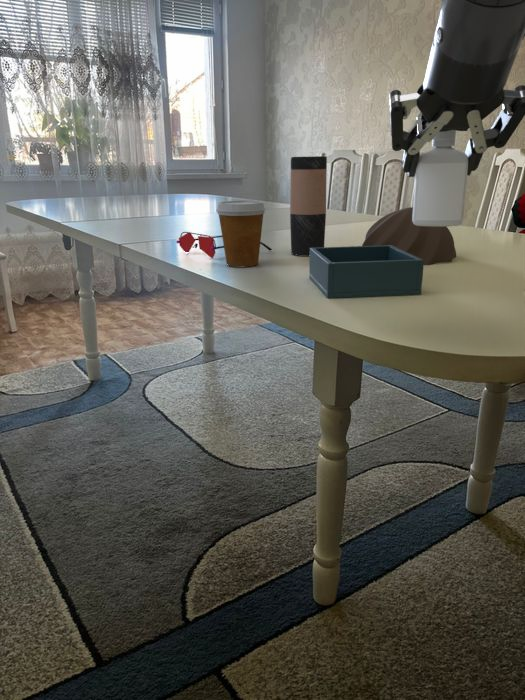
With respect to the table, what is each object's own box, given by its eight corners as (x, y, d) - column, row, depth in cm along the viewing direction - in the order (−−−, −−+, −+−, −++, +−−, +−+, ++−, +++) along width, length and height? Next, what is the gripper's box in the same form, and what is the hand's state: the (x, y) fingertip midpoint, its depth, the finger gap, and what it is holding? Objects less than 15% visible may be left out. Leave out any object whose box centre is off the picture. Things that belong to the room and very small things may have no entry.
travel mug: (332, 253, 119) (334, 156, 112) (309, 257, 114) (310, 156, 107) (305, 249, 124) (307, 156, 117) (282, 253, 119) (282, 157, 112)
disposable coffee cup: (228, 271, 102) (226, 205, 98) (211, 262, 110) (209, 201, 106) (274, 266, 106) (273, 202, 101) (254, 258, 114) (253, 199, 110)
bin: (390, 275, 96) (391, 245, 95) (421, 294, 83) (424, 260, 81) (309, 278, 95) (309, 247, 93) (327, 298, 81) (328, 263, 80)
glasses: (176, 253, 121) (174, 230, 120) (234, 244, 132) (233, 223, 130) (212, 261, 112) (211, 236, 110) (272, 251, 122) (272, 228, 120)
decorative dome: (463, 265, 103) (469, 212, 100) (357, 263, 107) (360, 211, 104) (451, 249, 121) (455, 203, 118) (361, 247, 125) (363, 202, 121)
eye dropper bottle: (452, 228, 60) (462, 111, 56) (405, 225, 64) (413, 115, 60) (467, 224, 63) (478, 113, 59) (422, 221, 67) (430, 116, 63)
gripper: (554, 2, 49) (495, 145, 64) (393, 10, 50) (373, 148, 66) (571, 58, 46) (505, 194, 61) (399, 65, 47) (376, 197, 62)
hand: (437, 170), depth 63 cm, fingers closed on eye dropper bottle, 5 cm apart
